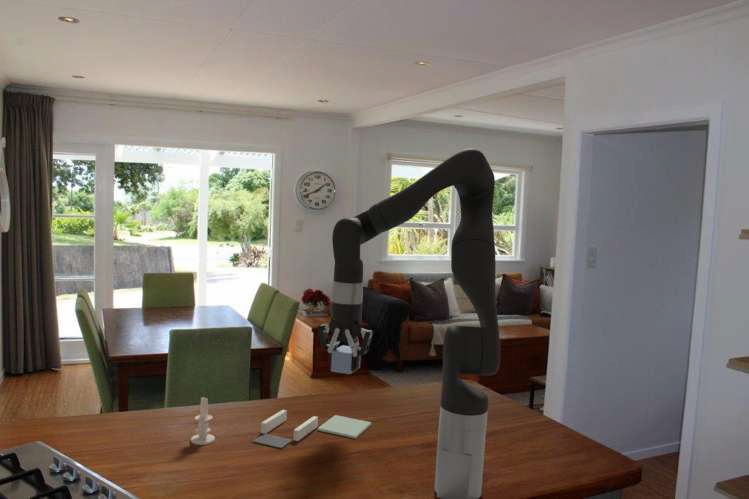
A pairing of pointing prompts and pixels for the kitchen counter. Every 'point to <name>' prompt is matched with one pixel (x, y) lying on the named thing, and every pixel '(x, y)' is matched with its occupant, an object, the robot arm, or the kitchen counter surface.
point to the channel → (280, 441)
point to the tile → (344, 426)
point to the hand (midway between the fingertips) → (343, 368)
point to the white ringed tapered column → (203, 425)
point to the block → (342, 360)
